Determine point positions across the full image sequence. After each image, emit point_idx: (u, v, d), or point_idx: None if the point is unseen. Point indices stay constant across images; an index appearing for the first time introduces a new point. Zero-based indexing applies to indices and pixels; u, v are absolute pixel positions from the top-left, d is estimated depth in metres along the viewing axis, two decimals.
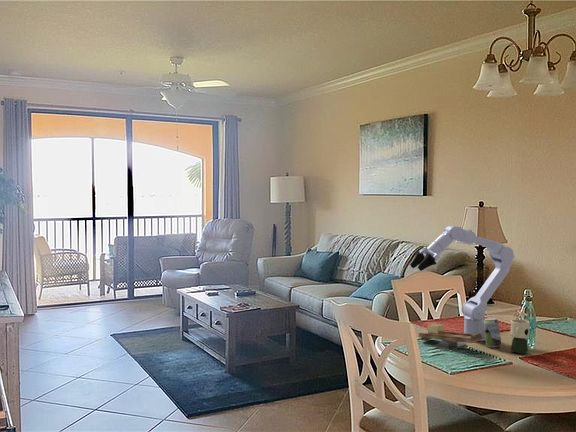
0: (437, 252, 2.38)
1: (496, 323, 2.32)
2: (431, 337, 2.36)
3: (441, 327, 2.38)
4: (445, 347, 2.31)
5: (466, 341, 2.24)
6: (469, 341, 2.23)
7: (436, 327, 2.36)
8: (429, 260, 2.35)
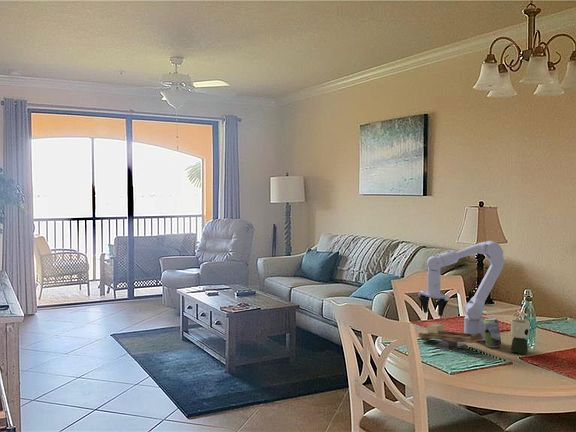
0: (439, 290, 2.46)
1: (496, 323, 2.32)
2: (431, 337, 2.36)
3: (441, 327, 2.38)
4: (445, 347, 2.31)
5: (466, 341, 2.24)
6: (469, 341, 2.23)
7: (436, 327, 2.37)
8: None
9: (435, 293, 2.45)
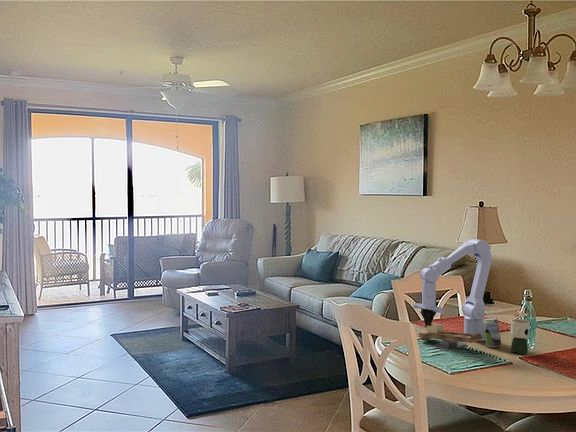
0: (434, 302, 2.40)
1: (496, 323, 2.32)
2: (431, 337, 2.36)
3: (440, 327, 2.38)
4: (445, 347, 2.31)
5: (466, 341, 2.24)
6: (469, 341, 2.23)
7: (435, 327, 2.37)
8: None
9: (430, 306, 2.39)
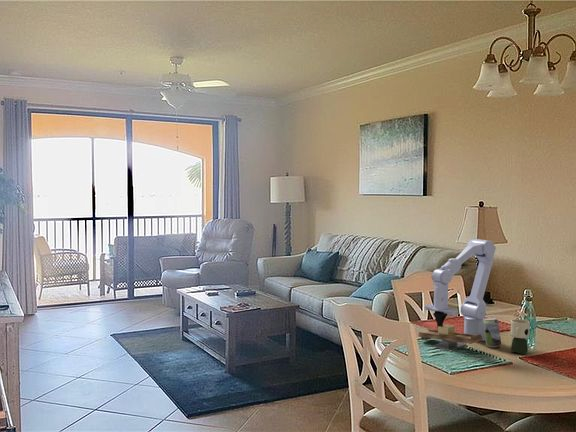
0: (447, 304, 2.36)
1: (496, 323, 2.32)
2: (431, 337, 2.36)
3: (451, 329, 2.34)
4: (445, 347, 2.31)
5: (466, 342, 2.24)
6: (469, 342, 2.23)
7: (447, 328, 2.33)
8: None
9: (442, 308, 2.35)
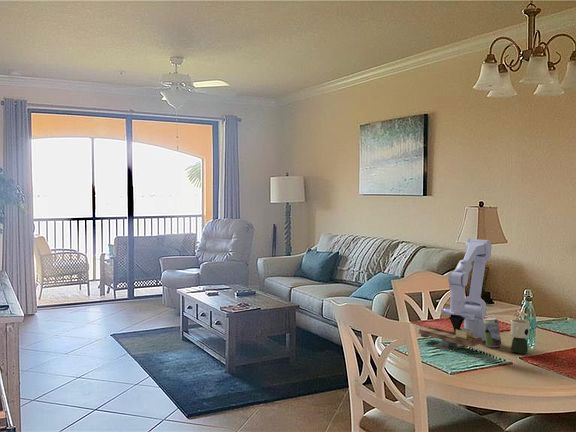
0: (464, 307, 2.30)
1: (496, 323, 2.32)
2: (431, 335, 2.36)
3: (470, 333, 2.28)
4: (445, 347, 2.31)
5: (466, 344, 2.24)
6: (469, 345, 2.23)
7: (465, 332, 2.26)
8: None
9: (459, 311, 2.29)
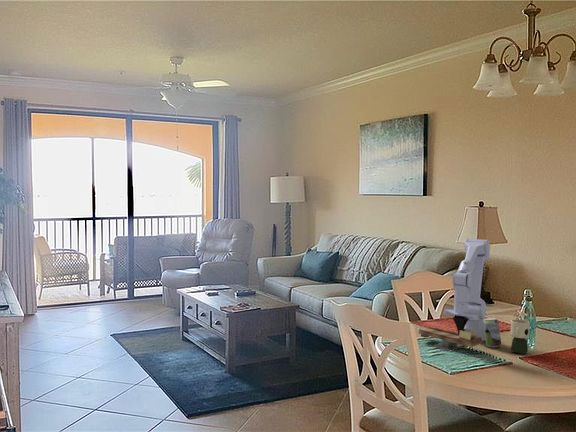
0: (468, 308, 2.29)
1: (496, 323, 2.32)
2: (431, 335, 2.36)
3: (474, 334, 2.27)
4: (445, 347, 2.31)
5: (466, 344, 2.24)
6: (469, 345, 2.23)
7: (469, 333, 2.25)
8: None
9: (463, 312, 2.28)
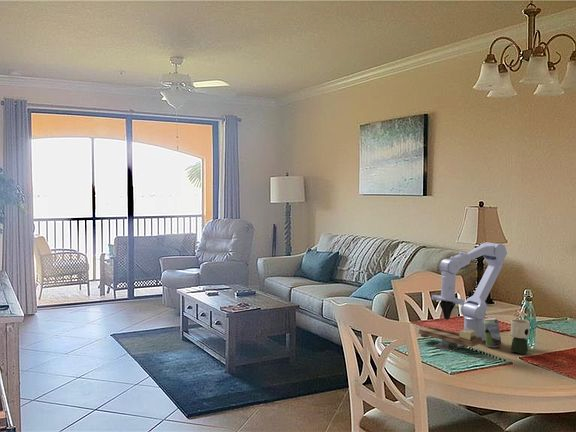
0: (454, 294, 2.38)
1: (496, 323, 2.32)
2: (431, 335, 2.36)
3: (474, 334, 2.27)
4: (445, 347, 2.31)
5: (466, 344, 2.24)
6: (469, 345, 2.23)
7: (469, 333, 2.25)
8: None
9: (450, 297, 2.37)
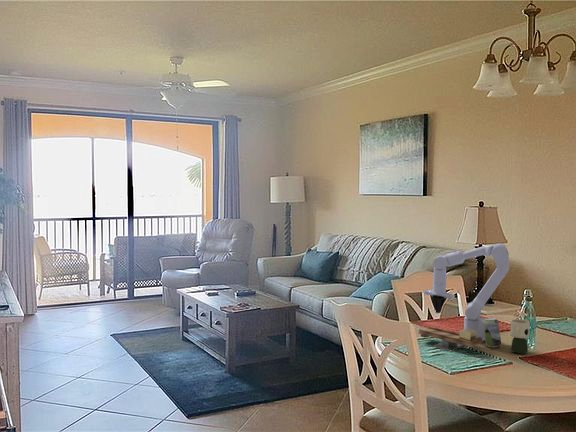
0: (445, 289, 2.49)
1: (496, 323, 2.32)
2: (431, 335, 2.36)
3: (474, 334, 2.27)
4: (445, 347, 2.31)
5: (466, 344, 2.24)
6: (469, 345, 2.23)
7: (469, 333, 2.25)
8: None
9: (441, 292, 2.48)
